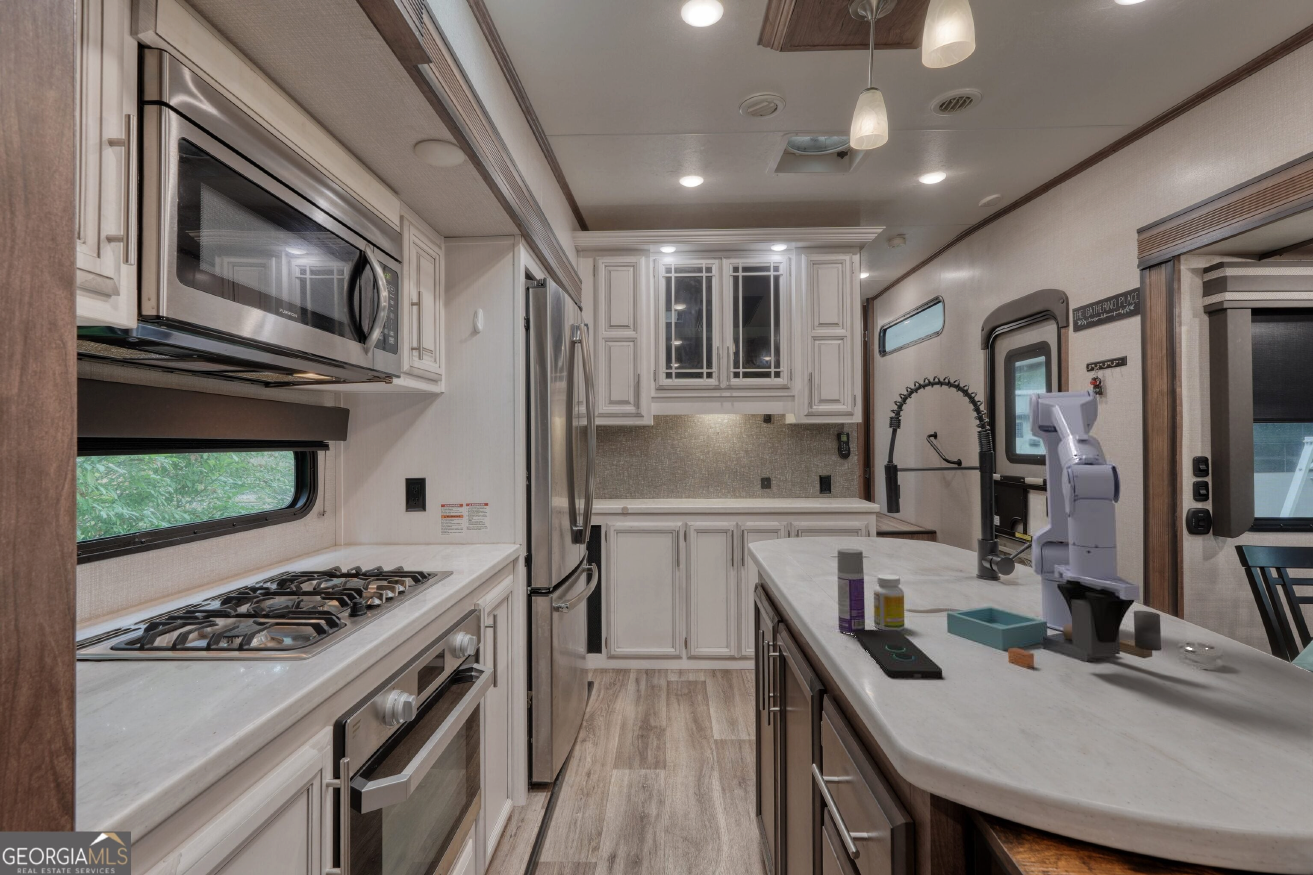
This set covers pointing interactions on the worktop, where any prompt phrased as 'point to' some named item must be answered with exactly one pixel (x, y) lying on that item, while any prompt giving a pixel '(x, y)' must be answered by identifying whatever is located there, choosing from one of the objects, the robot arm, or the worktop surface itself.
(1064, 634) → the crank lever
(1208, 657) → the metal wheel
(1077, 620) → the block
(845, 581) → the container
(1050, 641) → the wooden and grey pieces
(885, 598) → the supplement bottle
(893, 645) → the black flat panel
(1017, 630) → the tray
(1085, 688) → the worktop surface
